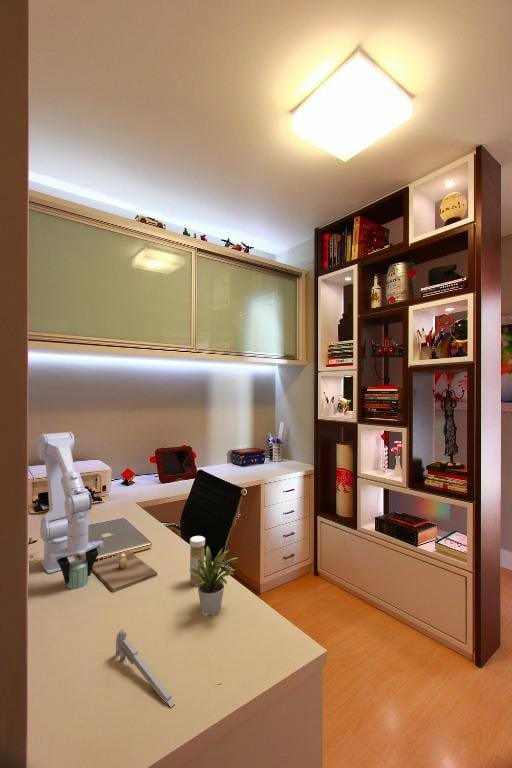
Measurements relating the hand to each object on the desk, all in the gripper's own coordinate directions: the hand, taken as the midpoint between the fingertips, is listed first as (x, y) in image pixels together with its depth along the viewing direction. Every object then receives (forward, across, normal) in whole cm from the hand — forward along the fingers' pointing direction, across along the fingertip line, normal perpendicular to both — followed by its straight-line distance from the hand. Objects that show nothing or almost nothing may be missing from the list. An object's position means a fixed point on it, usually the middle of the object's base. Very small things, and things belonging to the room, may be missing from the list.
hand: (77, 578), depth 110 cm
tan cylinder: (+2, +13, -2) cm, 13 cm away
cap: (+2, 0, 0) cm, 2 cm away
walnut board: (+2, +13, -2) cm, 13 cm away
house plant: (+2, +21, -39) cm, 44 cm away
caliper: (+2, -2, -47) cm, 47 cm away
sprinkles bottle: (+2, +27, -24) cm, 36 cm away
